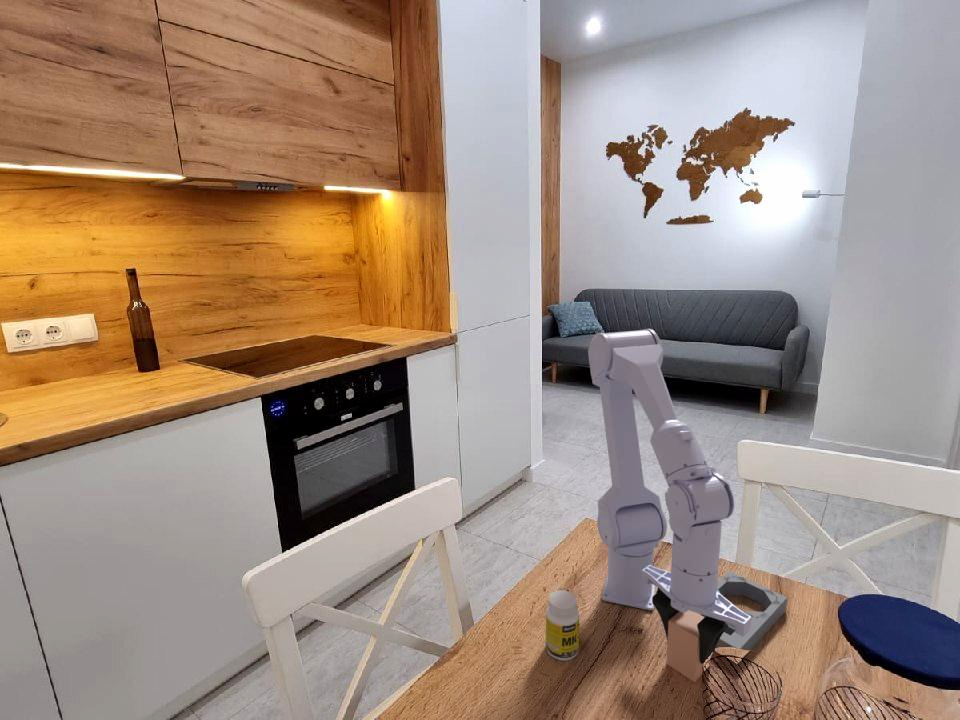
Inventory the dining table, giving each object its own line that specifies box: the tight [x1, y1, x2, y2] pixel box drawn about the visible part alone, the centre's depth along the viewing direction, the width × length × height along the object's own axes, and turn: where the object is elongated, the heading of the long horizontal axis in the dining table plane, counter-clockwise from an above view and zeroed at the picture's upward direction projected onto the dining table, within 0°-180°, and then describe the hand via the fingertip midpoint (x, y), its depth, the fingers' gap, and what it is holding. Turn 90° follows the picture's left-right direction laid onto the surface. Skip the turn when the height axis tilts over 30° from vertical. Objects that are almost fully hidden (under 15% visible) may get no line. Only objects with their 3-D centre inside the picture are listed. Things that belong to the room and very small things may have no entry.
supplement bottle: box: [545, 589, 580, 662], centre depth 75 cm, size 5×5×8 cm
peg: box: [665, 610, 705, 683], centre depth 72 cm, size 4×4×7 cm
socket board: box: [698, 570, 788, 651], centre depth 80 cm, size 16×9×2 cm, turn 129°
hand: (689, 649), depth 72 cm, fingers closed on peg, 4 cm apart
